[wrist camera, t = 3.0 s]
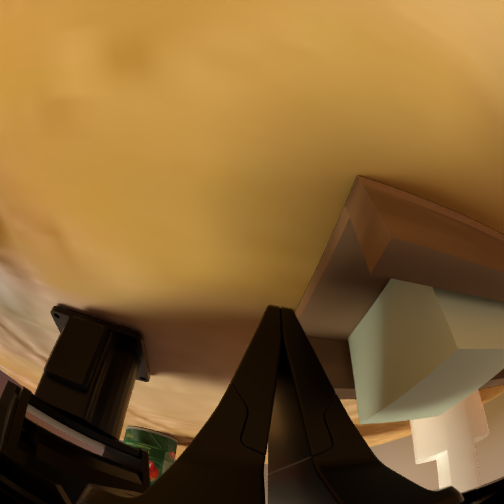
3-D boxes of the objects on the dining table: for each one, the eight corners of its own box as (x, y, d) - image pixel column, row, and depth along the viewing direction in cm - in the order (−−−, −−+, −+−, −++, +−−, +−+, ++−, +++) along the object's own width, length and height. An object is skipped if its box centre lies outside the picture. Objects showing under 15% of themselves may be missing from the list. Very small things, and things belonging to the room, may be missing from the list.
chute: (512, 348, 16) (524, 379, 14) (283, 334, 15) (283, 395, 12) (573, 276, 11) (592, 307, 8) (357, 175, 9) (391, 237, 6)
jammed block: (420, 344, 13) (438, 415, 10) (347, 337, 13) (359, 424, 10) (484, 268, 10) (526, 347, 6) (410, 246, 9) (457, 348, 6)
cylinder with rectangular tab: (469, 403, 25) (484, 482, 15) (407, 425, 28) (416, 507, 18) (486, 377, 20) (508, 476, 10) (410, 406, 23) (422, 511, 13)
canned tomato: (146, 425, 31) (131, 498, 22) (189, 443, 34) (179, 508, 26) (117, 425, 34) (102, 487, 25) (156, 442, 38) (146, 499, 29)
